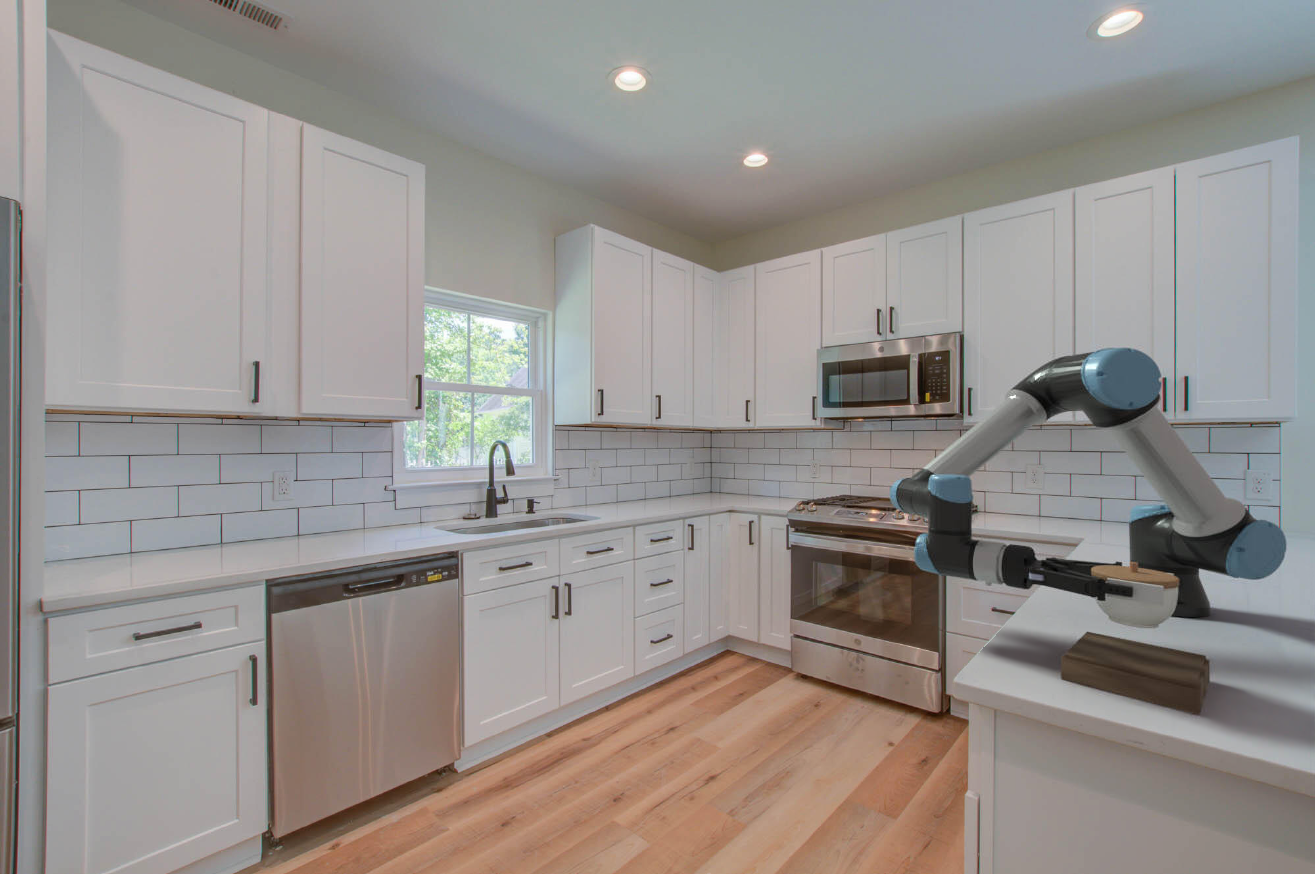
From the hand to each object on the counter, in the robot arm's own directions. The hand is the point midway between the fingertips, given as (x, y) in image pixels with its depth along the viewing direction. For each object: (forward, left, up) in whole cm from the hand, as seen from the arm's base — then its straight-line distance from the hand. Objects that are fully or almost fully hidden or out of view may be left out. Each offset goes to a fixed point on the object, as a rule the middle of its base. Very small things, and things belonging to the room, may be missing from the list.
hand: (1168, 588), depth 88 cm
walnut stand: (+2, -4, -15) cm, 16 cm away
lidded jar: (+2, -4, -6) cm, 7 cm away
